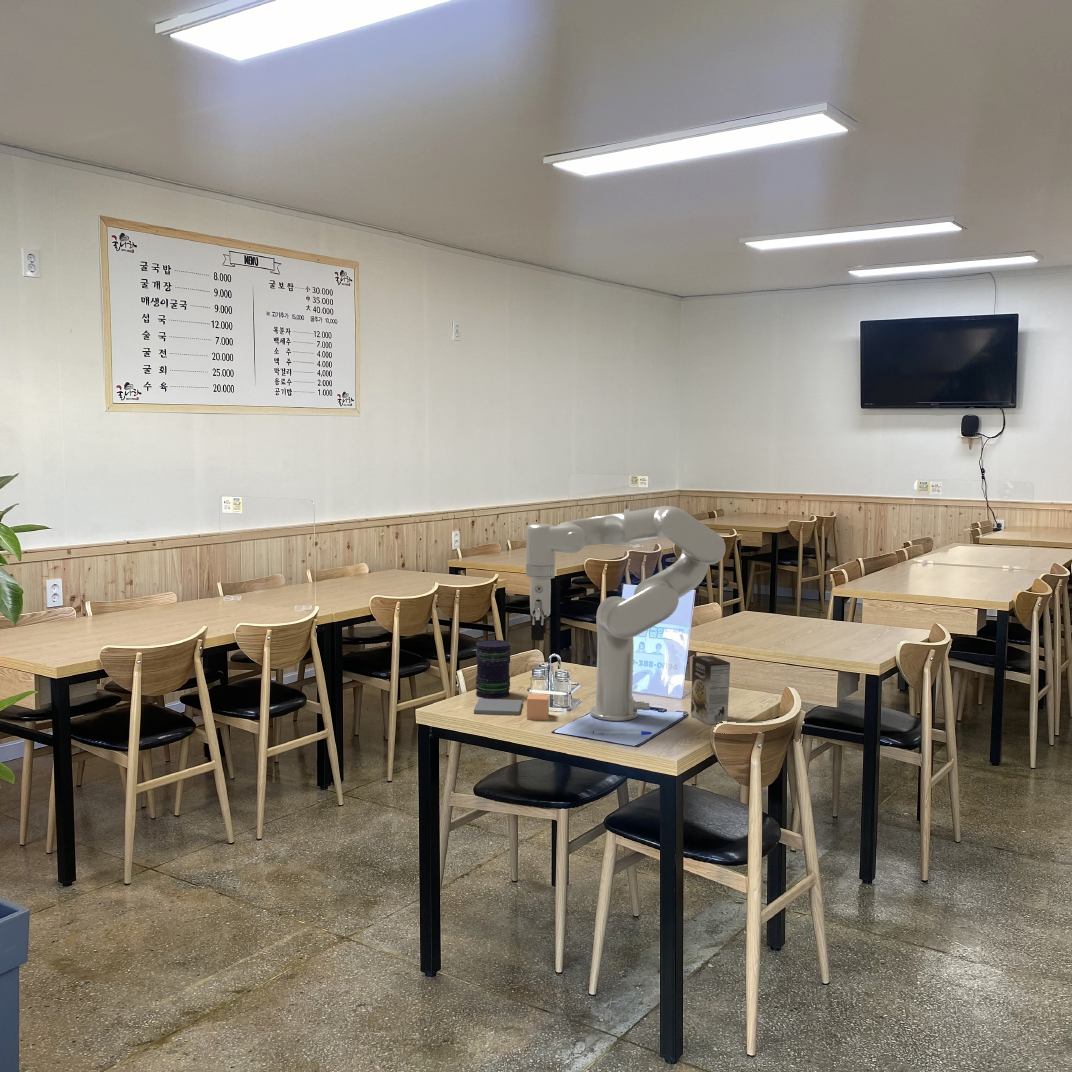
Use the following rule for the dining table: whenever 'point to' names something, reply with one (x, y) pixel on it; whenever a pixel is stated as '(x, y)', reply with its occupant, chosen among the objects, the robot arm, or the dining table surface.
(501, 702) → the coaster mat
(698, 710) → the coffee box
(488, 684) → the storage jar
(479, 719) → the dining table surface
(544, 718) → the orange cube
